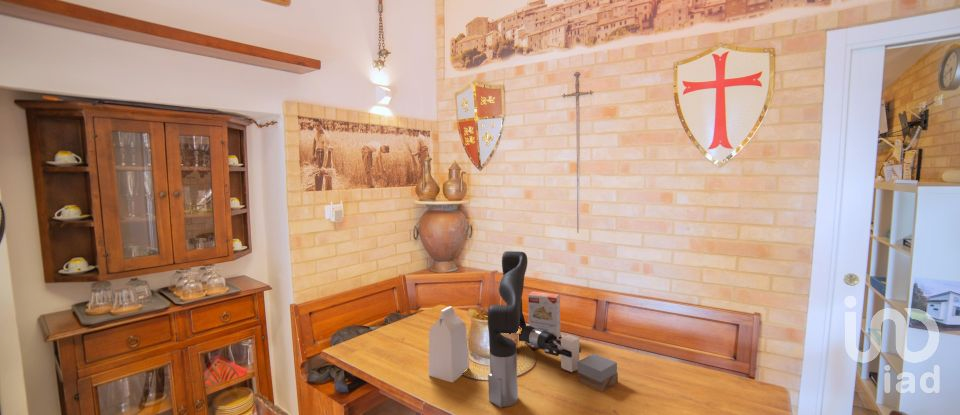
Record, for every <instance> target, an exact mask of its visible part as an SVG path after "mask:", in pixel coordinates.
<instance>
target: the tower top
mask: <svg viewBox="0 0 960 415" xmlns="http://www.w3.org/2000/svg"><path fill="white" fill-rule="evenodd" d="M577 373H578V374H579V373H581V374H584V375H586V376H588V377H590V378H592V379H594V380H597V381H599V382H603V381H604V380H606V379H608V378H609V377H611V376H613V375H614V374H616V373H618V362H617V361H615V360H614V361H613V360H611V359H609V358H607V357H604V356H601V355H599V354H596V353H592V354H590V355H588V356H586V357H584V358H582V359H579V361H578V369H577Z"/></svg>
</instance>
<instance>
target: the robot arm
mask: <svg viewBox="0 0 960 415" xmlns="http://www.w3.org/2000/svg"><path fill="white" fill-rule="evenodd" d="M501 256H502V257H501V268H502V277H501V279H500V281H499V282H500V283H499V288H498V292H499V295H500V297H501V299H502V300H503V301H504V303H506V305H505V304H502V305H501V304H492V305H490V306H489V308H488V310H487V318H486V319H487V328H488V329H487V331H488V343H489V370H490V371H489V372H490V373H488V375H487V376H488V377H487V378H488V383H487V384H488V401H489V402H491V403H492V404H494V405H495V406H497V407H498V408H500V409H501V408H503V407H506V408H507V407H510V406H514V405H515V404H517V402H518V400H519V399H518V398H519V397H518V363H517V361H518V358H517V356H518V355H517V344H516V342H515V340H512V339H509V338H508V337H507V336H505V335H503V334H504V333H509V334H511V333H516V332H517V331H518V328H519V326H520V327H521V328H522V331H521V334H519V341H518V342H525V343H527V344H530V345H532V346H533V347H535V348H537V349H541V350H543V351H544V353H545V354H548V355H550V356H555V357H559V356H561V355H565V356H567V357H570V358H571V357H572V352H571V351H568V350H566V349H563V348H561V338H559V339H557V338H556V336H555V335H554V334H552V333H550V332H547V331H544V330H541V329H537V328H534V327H532V326H529V325H527V322H526V320H525V317H524V313H523V298H522V297H523V292H524V284H525V274H526V272H527V268H528V256H527V254H526V253H525V252H523V251H511V250H510V251H504V252H503V254H502V255H501ZM581 350H582V349H581V347H580V346H579V354H580V353H582V352H581Z"/></svg>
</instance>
